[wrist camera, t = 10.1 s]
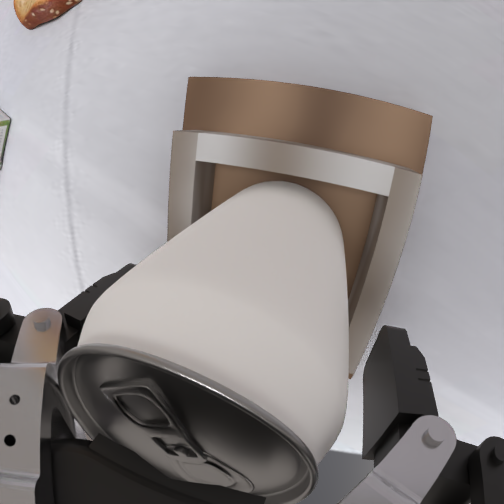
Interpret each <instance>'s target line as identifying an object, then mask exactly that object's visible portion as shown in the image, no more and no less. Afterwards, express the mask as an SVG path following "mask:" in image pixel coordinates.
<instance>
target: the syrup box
mask: <svg viewBox="0 0 504 504" xmlns="http://www.w3.org/2000/svg"><path fill="white" fill-rule="evenodd" d="M9 124H10V118H9V117H8V116H7V115H6V114H5V113H4V112H2V111H1V110H0V170H1V164H2V158H3V152H4V147H5V142H6V137H7V133H8V128H9Z"/></svg>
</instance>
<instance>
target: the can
mask: <svg viewBox="0 0 504 504" xmlns="http://www.w3.org/2000/svg"><path fill="white" fill-rule="evenodd" d="M348 376H349V321H348V295H347V277H346V263H345V251H344V242H343V236H342V231H341V228H340V225H339V222H338V220H337V218H336V216H335V214H334V212H333V211H332V210H331V208H330V207H329V206H328V204H327V203H326V202H325V201H324V200H323V199H322V198H321V197H319V196H318V195H317V194H315V193H314V192H312V191H311V190H309V189H307V188H305V187H303V186H300V185H298V184H294V183H290V182H284V181H268V182H262V183H258V184H255V185H252V186H250V187H248V188H246V189H244V190H242V191H240V192H239V193H237V194H236V195H234V196H233V197H231V198H230V199H228V200H227V201H225V202H223V203H222V204H221V205H219V206H218V207H216V208H215V209H213V210H212V211H210V212H209V213H207V214H206V215H204V216H203V217H202V218H200V219H199V220H197V221H196V222H194V223H193V224H192V225H190V226H189V227H187V228H186V229H185V230H183V231H182V232H180V233H179V234H178V235H176V236H175V237H173V238H172V239H171V240H169V241H168V242H167V243H165V244H164V245H163V246H161V247H160V248H158V249H157V250H156V251H154V252H153V253H152V254H150V255H149V256H148V257H146V258H145V259H144V260H143V261H141V262H140V263H139V264H137V265H136V266H135V267H134V268H132V269H131V270H130V271H128V272H127V273H126V274H125V275H123V276H122V277H121V278H120V279H119V280H117V281H116V282H115V283H114V284H113V285H112V286H110V287H109V288H108V289H107V290H106V291H105V292H104V293H103V294H102V295H101V296H100V297H99V298H98V299H97V301H96V302H95V303H94V304H93V306H92V308H91V309H90V311H89V313H88V315H87V318H86V320H85V323H84V325H83V328H82V332H81V335H80V339H79V342H78V345H77V347H74V348H72V349H71V350H69V351H68V352H67V353H65V355H64V356H63V357H62V358H61V360H60V362H59V365H58V371H57V378H58V384H59V388H60V391H61V393H62V395H63V397H64V399H65V401H66V403H67V405H68V407H69V409H70V411H71V413H72V415H73V417H74V418H75V420H76V421H77V422H78V424H79V425H80V426H81V428H82V429H83V430H84V431H85V432H86V433H87V435H88V436H89V437H90V438H91V439H92V440H94V439H95V437H96V436H97V435H98V433H100V434H102V435H103V436H105V437H107V438H109V439H111V440H113V441H114V442H116V443H118V444H120V445H122V446H124V447H126V448H128V449H130V450H132V451H134V452H135V453H137V454H138V455H139V456H140V457H142V458H143V459H144V460H145V461H147V462H148V463H149V464H151V465H152V466H153V467H155V468H156V469H157V470H159V471H160V472H162V473H163V474H164V475H166V476H167V477H169V478H171V479H175V480H181V481H188V482H195V483H203V484H212V485H221V486H225V487H228V488H231V489H235V490H239V491H242V492H246V493H250V494H254V495H258V496H263V497H266V500H265V503H264V504H295V503H298V502H300V501H301V500H303V499H305V498H306V497H307V496H309V495H310V494H311V492H312V491H313V490H314V489H315V487H316V485H317V481H318V466H317V465H318V464H319V463H320V461H321V460H322V459H323V458H324V456H325V455H326V454H327V452H328V451H329V450H330V448H331V447H332V445H333V444H334V442H335V441H336V439H337V437H338V435H339V433H340V432H341V429H342V427H343V423H344V419H345V414H346V408H347V397H348Z"/></svg>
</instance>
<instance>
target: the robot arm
mask: <svg viewBox="0 0 504 504" xmlns="http://www.w3.org/2000/svg"><path fill="white" fill-rule="evenodd" d="M135 266H136V265H135V264H132V263H130V264H128V265H126V266H125V267H123V268H122V269H121V270H119V271H118V272H116V273H113V274H110V275H108V276H105V277H102V278H101V279H100V280H98V281H97V282H95V283H94V284H93V286H90V287H89V288H87V289H86V290H85V292H84V291H83V292H82V293H81V294H79V295H78V296H76V297H75V298H74V299H73V300H71V301H70V302H69V303H67V304H66V305H65V306H63V307H62V308H61V309H59V310H58V311H57V310H55V309H52V308H41V309H37V310H35V311H33V312H31V313H29V314H28V315H27V316H26V317H24V316H20V315H15V314H13V312H12V308H11V305H10V303H9V301H8V300H6V299H3V298H0V504H264V503H265V500H266V497H263V496H258V495H254V494H250V493H246V492H242V491H239V490H235V489H231V488H228V487H225V486H221V485H212V484H203V483H195V482H188V481H181V480H175V479H171V478H169V477H167V476H166V475H164V474H163V473H162V472H160V471H159V470H157V469H156V468H155V467H153V466H152V465H151V464H149V463H148V462H147V461H145V460H144V459H143V458H142V457H140V456H139V455H138V454H137V453H135V452H134V451H132V450H130V449H128V448H126V447H124V446H122V445H120V444H118V443H116V442H114V441H113V440H111V439H109V438H107V437H105V436H103V435H102V434H100V433H98V435H97V436H96V437H95V439H94V440H93V441H90V440H87V438H86V435H85V432H84V430H83V429H82V428H81V426H80V425H79V424H78V422H77V421H76V420H75V418H74V417H73V415H72V413H71V411H70V409H69V407H68V405H67V403H66V401H65V399H64V397H63V395H62V393H61V391H60V388H59V384H58V378H57V371H58V365H59V362H60V360H61V358H62V357H63V356H64V355H65V353H67V352H68V351H69V350H71V349H72V348H74V347H77V345H78V342H79V339H80V335H81V332H82V328H83V325H84V323H85V320H86V318H87V315H88V313H89V311H90V309H91V308H92V306H93V304H94V303H95V302H96V301H97V299H98V298H99V297H100V296H101V295H102V294H103V293H104V292H105V291H106V290H107V289H108V288H109V287H110V286H112V285H113V284H114V283H115V282H116V281H117V280H119V279H120V278H121V277H122V276H123V275H125V274H126V273H127V272H128V271H130V270H131V269H132V268H134V267H135ZM427 371H428V368H427V365H426V361H425V358H424V356H423V355H422V354H421V352H420V351H419V350H418V348H417V347H415V346H410V342H409V338H408V334H407V331H406V330H405V329H402V328H396V327H391V326H386V325H384V326H383V327H382V328H381V330H380V333H379V335H378V337H377V339H376V342H375V344H374V346H373V348H372V351H371V353H370V355H369V357H368V359H367V362H366V365H365V368H364V373H363V451H362V459H367V460H374V469H373V470H372V471H371V472H370V473H369V474H368V475H367V476H366V477H365V478H364V479H363V480H362V481H361V482H360V483H359V484H358V485H357V486H356V487H354V489H352V491H350V492H349V493H348V494H347V495H346V496H345V497H344V498H343V499H342V500H340V501H339V502H338V503H337V504H469V503H471V504H504V439H502V438H500V437H495V436H493V437H489V438H487V439H486V440H484V441H483V442H482V443H481V444H480V445H479V446H475V445H472V444H468V443H465V442H462V441H459V440H457V439H456V434H455V431H454V430H453V428H452V426H451V425H450V424H449V423H448V422H447V421H445V420H444V419H442V418H440V417H439V416H438V411H437V406H436V402H435V397H434V393H433V389H432V384H431V382H430V376H429V372H427Z"/></svg>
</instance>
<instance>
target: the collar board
mask: <svg viewBox="0 0 504 504" xmlns="http://www.w3.org/2000/svg"><path fill="white" fill-rule="evenodd" d="M432 117H433V116H431V115H428V114H425V113H422V112H418V111H415V110H412V109H409V108H405V107H402V106H398V105H395V104H391V103H388V102H384V101H380V100H376V99H372V98H368V97H363V96H359V95H354V94H350V93H345V92H340V91H335V90H329V89H324V88H318V87H312V86H305V85H298V84H291V83H283V82H275V81H265V80H254V79H240V78H220V77H189V79H188V87H187V95H186V103H185V112H184V122H183V130H180V131H173V138H172V150H171V164H170V181H169V201H168V234H167V242H168V241H169V240H171V239H172V238H173V237H175V236H176V235H178V234H179V233H180V232H182V231H183V230H185V229H186V228H187V227H189V226H190V225H192V224H193V223H194V222H196V221H197V220H199V219H200V218H202V217H203V216H204V215H206V214H207V213H209V212H210V211H212V210H213V209H215V208H216V207H218V206H219V205H221V204H222V203H223V202H225V201H227V200H228V199H230V198H231V197H233V196H234V195H236V194H237V193H239V192H240V191H242V190H244V189H246V188H248V187H250V186H252V185H255V184H258V183H262V182H268V181H284V182H290V183H294V184H298V185H300V186H303V187H305V188H307V189H309V190H311V191H312V192H314V193H315V194H317V195H318V196H319V197H321V198H322V199H323V200H324V201H325V202H326V203H327V204H328V206H329V207H330V208H331V210H332V211H333V212H334V214H335V216H336V218H337V220H338V222H339V225H340V228H341V231H342V236H343V242H344V251H345V263H346V277H347V295H348V321H349V376H348V379H351V378H352V376H353V374H354V373H355V371H356V369H357V366H358V364H359V362H360V360H361V358H362V356H363V353H364V351H365V349H366V347H367V344H368V342H369V340H370V337H371V335H372V333H373V330H374V328H375V325H376V323H377V320H378V318H379V315H380V313H381V310H382V308H383V305H384V303H385V300H386V297H387V295H388V292H389V289H390V286H391V284H392V281H393V278H394V275H395V272H396V269H397V266H398V263H399V260H400V257H401V254H402V251H403V247H404V244H405V241H406V237H407V234H408V231H409V227H410V224H411V220H412V216H413V213H414V209H415V205H416V201H417V197H418V193H419V189H420V184H421V180H422V173H423V168H424V163H425V158H426V153H427V148H428V142H429V137H430V130H431V124H432Z"/></svg>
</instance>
